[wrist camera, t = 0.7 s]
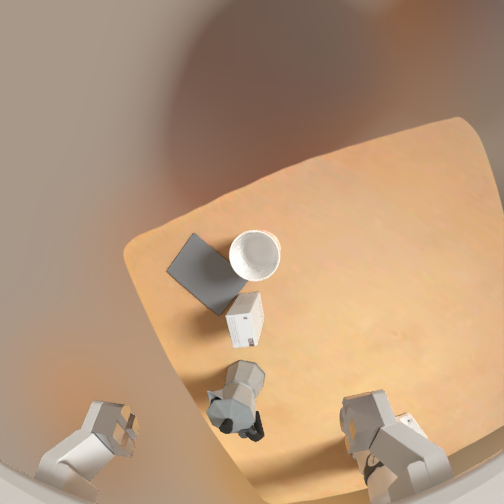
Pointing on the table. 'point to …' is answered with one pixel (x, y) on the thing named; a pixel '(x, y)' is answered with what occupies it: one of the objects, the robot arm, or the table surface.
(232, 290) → the mat
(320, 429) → the table surface
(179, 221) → the table surface
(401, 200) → the table surface
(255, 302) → the skincare box
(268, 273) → the white cup
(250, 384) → the coffee maker
